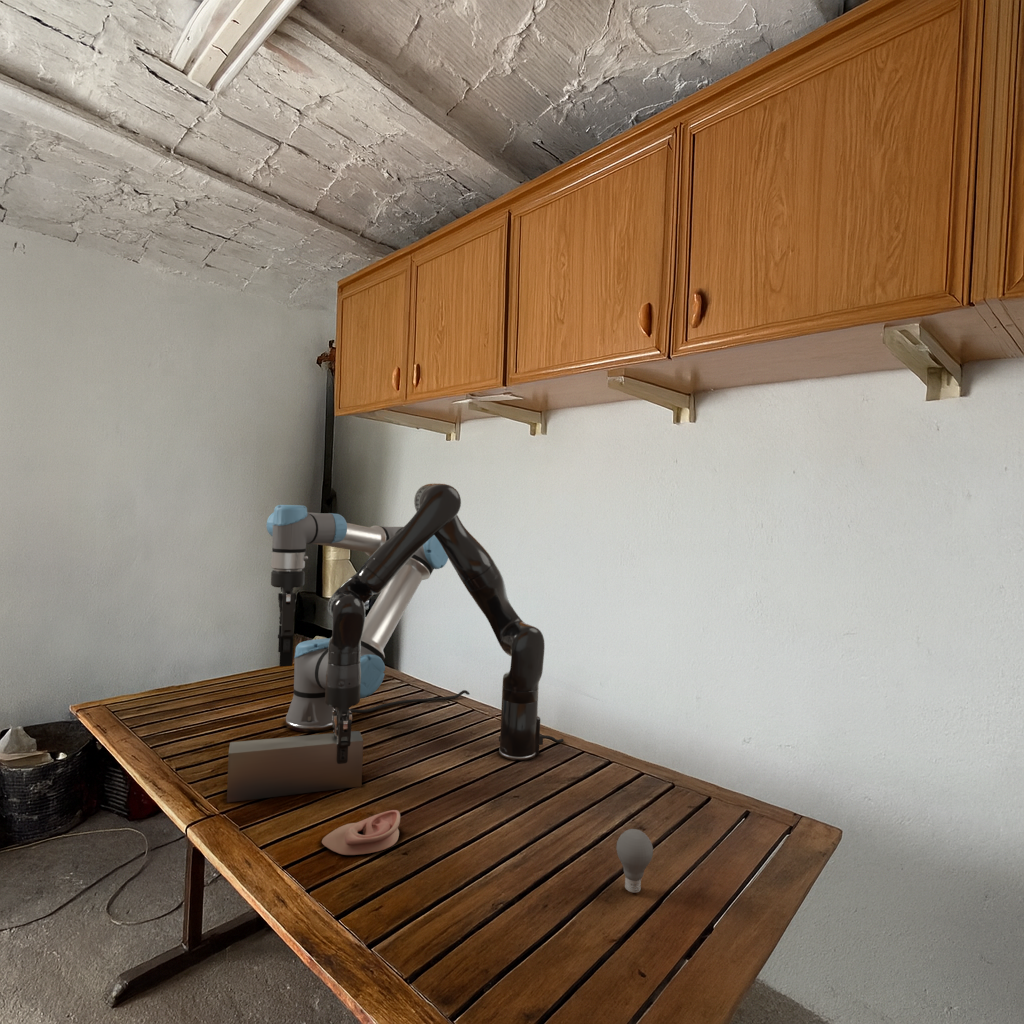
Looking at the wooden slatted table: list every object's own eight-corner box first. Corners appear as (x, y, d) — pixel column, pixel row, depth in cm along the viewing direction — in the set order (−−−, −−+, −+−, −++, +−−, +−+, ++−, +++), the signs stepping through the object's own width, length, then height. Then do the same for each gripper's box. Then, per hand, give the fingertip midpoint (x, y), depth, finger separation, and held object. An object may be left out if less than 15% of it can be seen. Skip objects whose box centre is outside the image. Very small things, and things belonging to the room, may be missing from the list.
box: (226, 802, 129) (228, 753, 129) (228, 789, 135) (230, 742, 135) (361, 786, 139) (363, 740, 139) (357, 774, 145) (359, 730, 145)
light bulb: (610, 879, 108) (613, 822, 108) (644, 879, 109) (647, 822, 109) (619, 902, 102) (622, 840, 102) (655, 901, 103) (658, 840, 103)
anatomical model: (313, 828, 113) (343, 799, 125) (313, 850, 113) (342, 819, 125) (383, 839, 111) (407, 808, 122) (382, 862, 111) (406, 829, 122)
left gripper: (308, 576, 140) (304, 671, 141) (301, 563, 164) (298, 645, 164) (271, 576, 138) (268, 673, 138) (270, 563, 161) (267, 646, 161)
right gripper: (365, 690, 135) (362, 768, 135) (356, 672, 148) (353, 743, 149) (328, 692, 132) (325, 772, 132) (322, 674, 145) (320, 746, 146)
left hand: (284, 658), depth 151 cm, fingers open, 13 cm apart
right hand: (340, 756), depth 140 cm, fingers closed on box, 6 cm apart
